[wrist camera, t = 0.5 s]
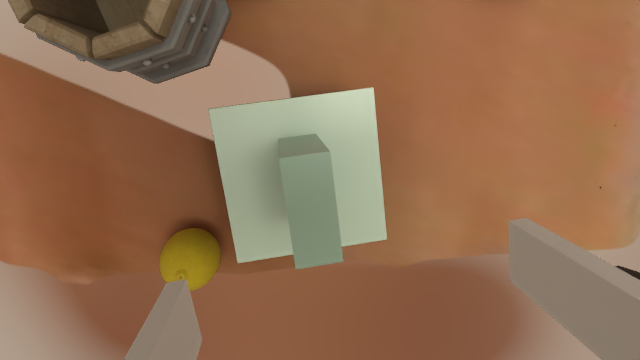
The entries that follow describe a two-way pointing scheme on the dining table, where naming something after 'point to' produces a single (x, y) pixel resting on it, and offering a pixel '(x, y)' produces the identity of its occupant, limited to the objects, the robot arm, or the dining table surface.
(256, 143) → the lid
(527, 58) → the dining table surface
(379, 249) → the dining table surface
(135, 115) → the dining table surface
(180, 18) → the tankard
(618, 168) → the dining table surface
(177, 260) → the lemon
